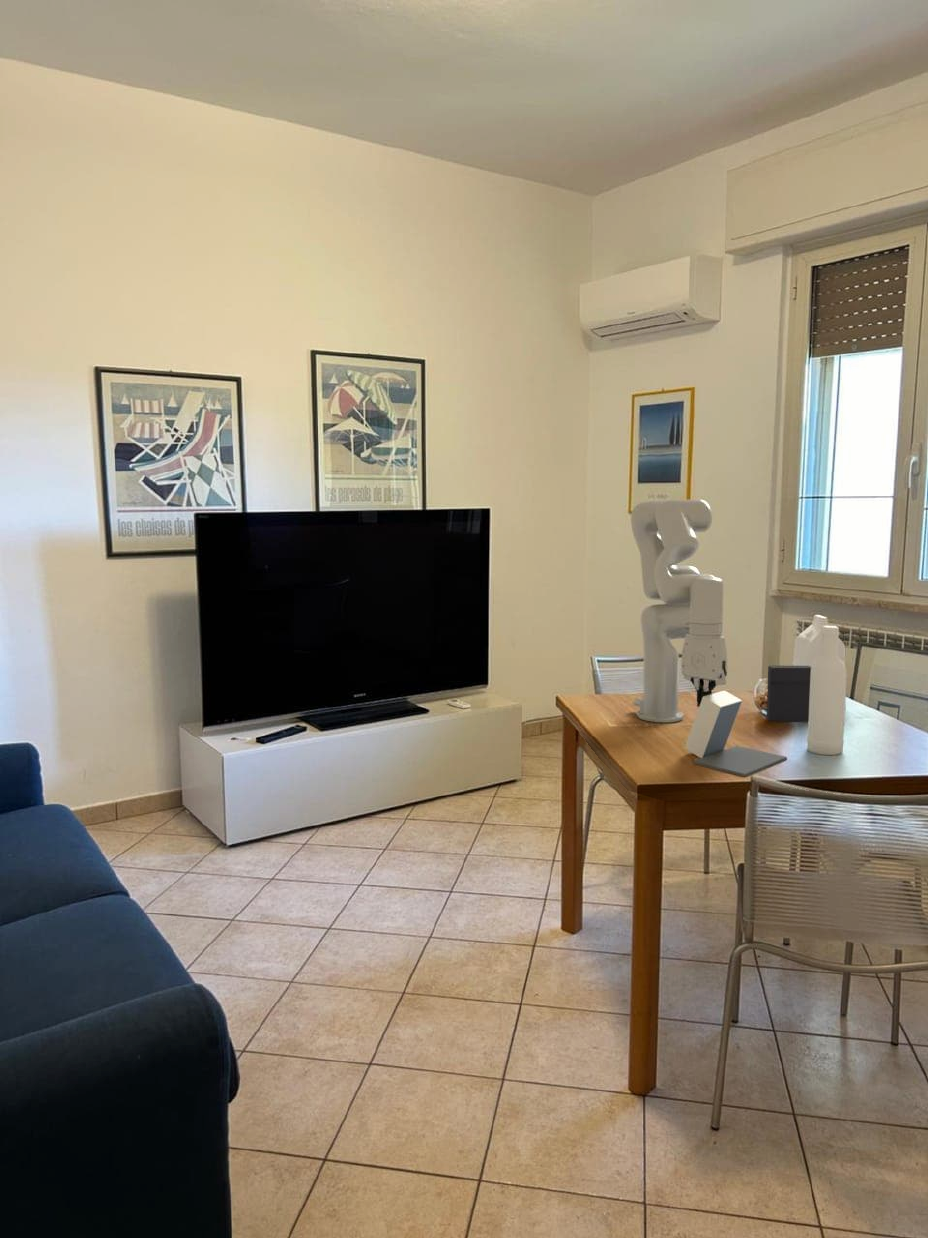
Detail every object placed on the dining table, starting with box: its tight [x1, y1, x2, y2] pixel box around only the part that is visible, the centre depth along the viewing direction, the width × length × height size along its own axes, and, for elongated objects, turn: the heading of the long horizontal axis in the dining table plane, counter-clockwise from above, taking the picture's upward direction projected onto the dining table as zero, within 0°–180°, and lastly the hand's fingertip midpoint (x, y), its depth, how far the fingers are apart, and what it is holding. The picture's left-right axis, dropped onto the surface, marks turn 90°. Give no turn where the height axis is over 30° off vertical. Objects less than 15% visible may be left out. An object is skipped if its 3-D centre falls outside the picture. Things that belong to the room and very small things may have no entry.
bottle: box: [806, 625, 847, 756], centre depth 202 cm, size 8×8×30 cm
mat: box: [693, 745, 788, 777], centre depth 197 cm, size 13×18×1 cm
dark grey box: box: [766, 665, 811, 723], centre depth 231 cm, size 11×4×15 cm, turn 84°
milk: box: [792, 614, 847, 710], centre depth 248 cm, size 12×12×26 cm
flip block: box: [684, 690, 743, 759], centre depth 201 cm, size 5×9×14 cm, turn 131°
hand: (703, 706), depth 202 cm, fingers closed
